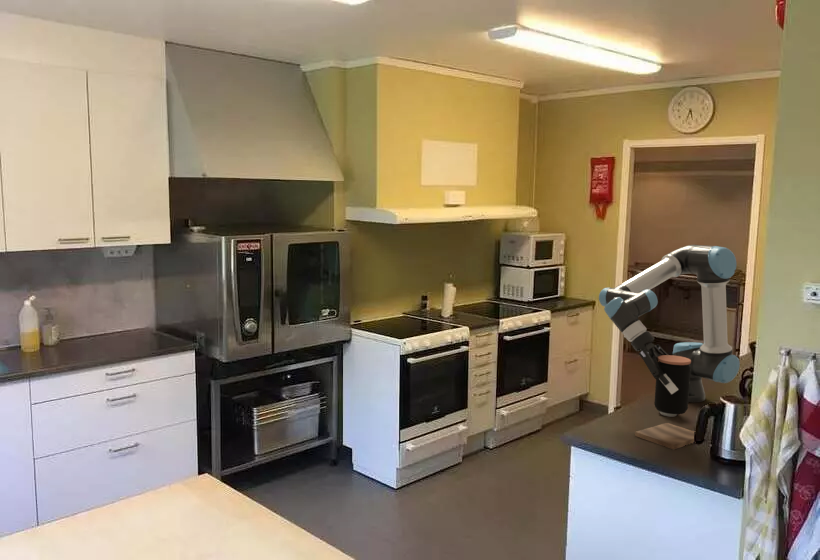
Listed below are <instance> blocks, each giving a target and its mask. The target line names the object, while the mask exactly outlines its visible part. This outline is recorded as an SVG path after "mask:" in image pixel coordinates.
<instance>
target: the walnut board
mask: <svg viewBox="0 0 820 560" xmlns="http://www.w3.org/2000/svg"><path fill="white" fill-rule="evenodd" d="M694 432H695V431H694V430H691V429H687V428H684V427H682V426H678V425H675V424H672V423H669V422H665V423H661V424H658V425H655V426H651V427H647V428H644V429H643V428H642V429H641V430H640V429H639V430H637V431H636V430H635V432H634V436H635V437H637V438H640V439H643V440H646V441H647V442H651V443H654V444H657V445H660V446H663V447H666V448H668V449H671V450H676V449H679V448H682V447H685V445H686V446H689V445H691V444H690V443H692V444H694V443H693V442H694ZM688 444H689V445H688Z"/></svg>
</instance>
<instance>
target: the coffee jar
mask: <svg viewBox="0 0 820 560" xmlns="http://www.w3.org/2000/svg"><path fill="white" fill-rule="evenodd" d="M658 362H659V364H660V366H661V368H662V371H663V373H664V374H666V375H667V376H668V377H669V378H670V379H671V381H672V382H673V383H674V384H675V386H676V387H677V388H678V389H679V390H677V391H676V392H675V393H673V394H671V393H670V392H669V391H668V389H667V388H666V387H665V386H664V384H663V383H662V382H661V381H660V379H659V378H658V379H657V380H656V379H655V389H654V408H655V409H656V410H657V411H658V412H659V411H660V412H663V413H668V414H677V415H683V414H685V413H686V412H687V410H688V408H689V402H688V398H689V384H690V371H691V368H690V366H689V364H690V363H691V360H690V359H688V358H685V357H681V356H674V355H673V354H672V355H669V354H668V355H662V356H658ZM664 374H663V375H664ZM660 412H659V413H660Z"/></svg>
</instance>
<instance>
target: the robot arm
mask: <svg viewBox="0 0 820 560" xmlns="http://www.w3.org/2000/svg"><path fill="white" fill-rule="evenodd" d="M736 270H737V259H736V255H735V254H734V253H733V251H732V250H731V249H730V248H727V247H724V246H718V245H707V244H706V245H704V244H703V245H701V244H688V245H685V246H682V247H679V248H677V249H674V250H672V251H671V252H669V253H667V254H665V255H664V256H662V258H661V260H660V261H658V262H656V263H655V264H653V265H651V266H650V267H648V268H646V269H644V270H643V271H641V272H639V273H638V274H636V275H634V276H632V277H631V278H628V279H627V280H624V282H622V283H620V284H618V285H617V286H614V287H604V288H602V289H601V291H600V292H599V294H598V301H599V304H600V305H601V306H602V307H603V308H604V309H603V310H604V312H605V313H606V315H607V317H609V318H608V319H610V320H611V322H612V323H613V324H614V325H615V326H616V327H617V329H618V330H619V331H620V333H621V334H622V335H623V338H624V339H626V340H627V341H628V342H630V344H631V346H632V348H633V349H634V350H635V351H636V352H639V353H638V356H640V357H641V359H642V360H643V362H644V364H645V366H646V367H647V368H648V370H649V372H650V374H651V376H652V377H653V378H654V379H655V381H656V380H657V379H658V378H659V379H660V381H661V382H662V383H663V384H664V386H665V387H666V388H667V389H668V391H669V392H670V393H671V394H673V393H675V392H676V391H677V390H679V389H678V388H677V387H676V386H675V384H674V383H673V382H672V381H671V379H670V378H669V377H668V376H667V375H666V374H664V373H663V371H662V368H661V366H660V364H659V361H658V356H662V355H669V353H667V352H666V351H665V350H664V349H663V348H662V346H661V345H660V344H659V343H657V344H655V343H653V342H654V340H655V337H654V336H653V335H652V334H651V332H650V331H649V330H648V331H647V327H646V326H645V325H644V323H642V321H641V320H640V319H639V317H641V316H643V315H645V314H646V313H649V312H651V311H652V310H653V309H655V308H656V307H657V305H658V303H659V301H658V296H657V295H656V293H655V292H654V291H653V290H652V289H654V288H655V287H657V286H659V285H660V284H662V283H664V282H665V281H667V280H669V279H670V278H677V277H679V276H681V275H686V274H687V275H688V274H689V275H690V274H691V275H696V282H697V283H698V284H699V285H700V286H701V288H700V289H701V306H702V309H701V311H702V331H703V332H702V333H703V343H702V342H695V341H693V342H692V341H691V342H690V341H687V342H686V341H685V342H677V343H675V344H674V345H673V349H672V350H673V351H672V355H674V356H681V357H685V358H688V359H690V360H691V363H690V364H689V366H690V368H691V371H690V384H689V398H688V403H701V402H703V401H705V400H706V393H705V389H704V385H703V380H702V379H707V380H709V381H714V383H715V382H716V383H721V384H727V383H728V384H729V383H730V382H732V381H733V380H734V379H735V378H736V376H737V375H738V373H739V370H740V365H741V363H740V359H739V358H738V356H736V354H733V346H731V345H730V344H729V343H728V341H729V340H728V339H729V338H728V316H727V313H728V312H727V311H728V310H727V290H726V289H727V286H726V285H727V284H728V283H729V282H730V281H731V277H733V276H734V275H735V272H736ZM663 374H664V375H663Z"/></svg>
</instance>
